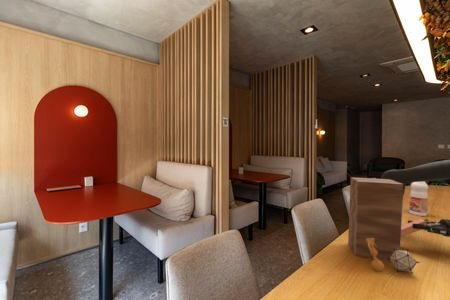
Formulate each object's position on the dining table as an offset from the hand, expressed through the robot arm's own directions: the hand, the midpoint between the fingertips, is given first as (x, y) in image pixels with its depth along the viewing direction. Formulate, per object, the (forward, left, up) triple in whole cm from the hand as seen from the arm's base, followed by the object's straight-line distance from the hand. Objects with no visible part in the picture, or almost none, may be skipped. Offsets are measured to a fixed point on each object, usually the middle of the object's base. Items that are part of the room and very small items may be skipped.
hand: (410, 224), depth 104 cm
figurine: (+26, -23, -11) cm, 36 cm away
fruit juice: (-60, +32, -11) cm, 69 cm away
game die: (+24, -13, -11) cm, 29 cm away
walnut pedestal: (+11, -19, -11) cm, 24 cm away
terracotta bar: (0, -3, -5) cm, 6 cm away
